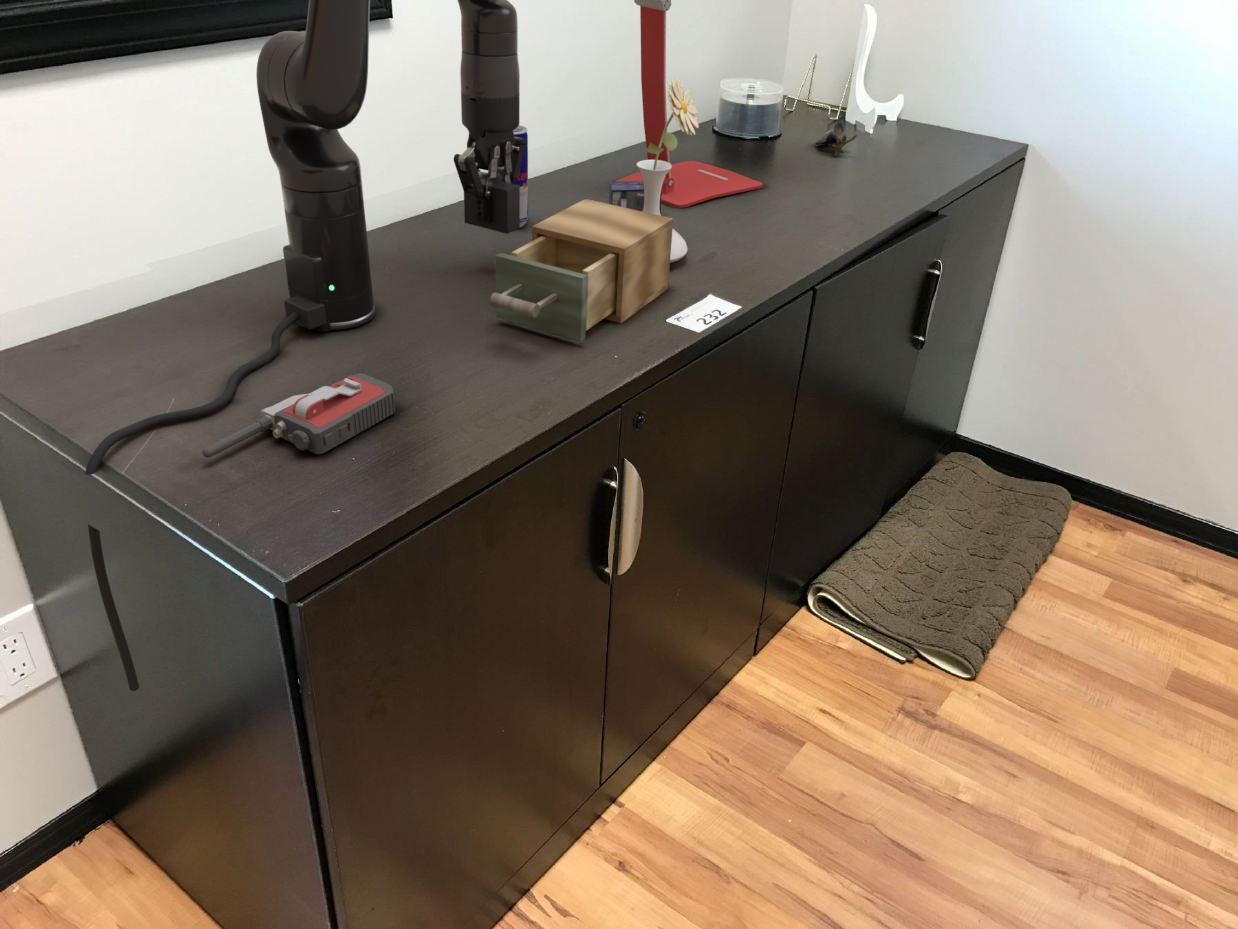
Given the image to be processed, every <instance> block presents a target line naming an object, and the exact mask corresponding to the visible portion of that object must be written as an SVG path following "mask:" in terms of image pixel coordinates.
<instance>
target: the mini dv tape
mask: <svg viewBox="0 0 1238 929" xmlns="http://www.w3.org/2000/svg"><path fill="white" fill-rule="evenodd" d="M644 195H645V193H644V182H643V181H617V180H616V181H615V180H613V181H612V180H611V181H609V196H608V197H609V198H608V204H611V205H615V206H620V207H624V208H629V209H633V210H638V211H642V212H643V208H644ZM661 197H662V188H661V194H660V205H659V209H660V213H662V212H661V210H662V202H661Z"/></svg>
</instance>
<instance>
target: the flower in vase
mask: <svg viewBox="0 0 1238 929" xmlns="http://www.w3.org/2000/svg"><path fill="white" fill-rule="evenodd" d="M667 91H668V100H669V106H670V108H671V111H672V113H671V114H670V116H669V118H668V119H667V124H666V126H665V128H664V131H663V134H662V137H661V140H660V144H659V147H657V146H655V145H654V144H652V143H650V145H649V146H648V148H645V152H646V153H647V152H649V153H653V154H656V158H655V160H648V159H643V160H639V161H637V162H636V167H637V169H638V170H639V172H641V174H642V177H643V182H644V193H645V195H644V208H643V212H646V213H651V214H655V215H660V216H662V214H661V212H660V209H659V205H660V194H661V188H662V184H663V181H664V178H665V176H666V174H667V173H668V171H669V170H670V169H671V168H672V165H671V164H672V163H671V162H670V163H668V162H665V161H661V160H658V156H659V153H661V152H662V151H663V150H664V149H663V148H661V145H662V142H663V143H664V145H665V146H666V148H667V149H668V150H669V152H672V151H675V149H677V147H678V144H679V143H678V139H677V137H676V136H675V135H674V134H673V133H671V132H668V127H669V125H670V123H671V121H672V120H673V118H674V120H675V121H676V124H677V125H678V126H679V128H680V130H681V132H682V133H685V134H686V135H687V136H688V135H690V136H693V135H694V136H695V135H696V131H695V128H696V129H700V128H699V127H700V126H699V123H698V122H699V120H698V118H697V117H696V115H698V109H697V107H696V106H695V105H694V101H693V100H692V99H691V97H692V96H691V95H692V94H691V91H690V89H689V90H688V89H687V90H685V89H684V84H683V82H682V81H681V80H680V78H677V80H675V79H674V78H671V81H670V82H669V87H668V88H667ZM666 130H667V133H666V134H665V132H666ZM687 252H688V245H687V242H686V240H685V239H684V238H683V236H682V235H681V234H680V233H679V232H677V230H675V228H673V229H672V242H671V255H670V264H671V263H675V262H677V261H679V260H680V261H681V259H683V258H684V257H685V255H686V254H687Z"/></svg>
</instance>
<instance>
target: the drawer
mask: <svg viewBox="0 0 1238 929" xmlns="http://www.w3.org/2000/svg"><path fill="white" fill-rule="evenodd" d="M618 261H619V253H616V252H612V251H608V250H603V249H599V248H595V247H591V246H587V245H583V244H579V243H575V242H571V241H567V240H563V239H559V238H555V237H551V236H546V235H543V236H541V237H539V238H537V239H535V240H534V241H532V240H531V241H530V242H528V243H526V244H524V245H522V246H521V247H519V248H517V249H514V250H513V251H512V252H511V254H508V253H504V252H499V253H497V254H496V255H495V289H496V290H495V292H493V293H492V294H491V295H490V299H489V303H490V306H492V307H496V318H498V319H501V320H504V321H507V322H511V323H515V324H518V325H522V326H525V327H529V328H532V329H535V330H539V331H542V332H546V333H549V334H552V335H556V336H559V337H563V338H566V339H569V340H574V341H577V342H582V341H584V340H585V339H586V338H587V337H586V335H587V331H588V330H589V329H591V328H592V327H594V326H596V325H597V324H598V323H600V322H601V321H602V320H605V319H604V318H605V317H607V316H608V315H609V314H611V313H612V312H614V311H615V310H616V304H617V283H618Z"/></svg>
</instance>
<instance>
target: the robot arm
mask: <svg viewBox="0 0 1238 929" xmlns="http://www.w3.org/2000/svg"><path fill="white" fill-rule="evenodd" d="M457 3H458V7H459V11H460V16H461V17H460V19H461V20H460V27H461V28H460V29H461V30H460V32H461V33H460V34H461V57H460V58H461V59H460V70H459V73H460V107H461V108H460V109H461V124H462V126H463V127H464V128H466V129H467V131H468V137H467V140H466V141H467V142H466V149H465V150H464V151H463V153H461V154H459V153H455V154H454V156H453V163H454V166H455V168H456V172H457V176H458V178H459V181H460V184H461V187H462V190H463V194H464V193H467V194H472V195H474V196H475V211H476V212H475V216H476V220H477V221H478V222H479V223H483V224H487V225H488V224H490V223H492V197H491V194H492V183H493V180H499V181H504V182H508V183H512V182H517V180H518V177H519V172H520V168H521V163H522V159H523V155H524V150H525V146H526V139H524V138H519V137H515V136H514V133H513V130H514V129H516V128H517V127H518V126H519V125H520V86H521V85H520V84H521V83H520V80H521V79H520V76H521V75H520V64H519V54H518V50H519V48H518V47H519V46H518V40H519V38H518V31H519V30H518V29H519V27H518V24H519V22H518V13H517V8H515V6H514V5H513V4H512V3H511V2H510V1H509V0H457ZM370 12H371V0H308V9H307V18H306V19H307V20H306V27H305V32H303V31H302V32H301V31H297V30H284V31H280V32H278V33H276V34H273V35H272V36H270V37H269V38H267V40H266V41H265V42H264V44H263V46H262V48H261V49H260V52H259V53H258V54H259V55H258V58H257V63H256V72H255V74H256V75H255V76H256V87H257V96H258V100H259V101H258V102H259V107H260V112H261V117H262V122H263V128H264V133H265V138H266V144H267V148H268V151H269V154H270V156H271V159H272V161H273V162H274V164H275V166H276V168H277V170H278V174H279V181H280V187H281V195H282V201H283V208H284V210H283V211H284V216H285V222H286V223H285V224H286V230H287V231H286V232H287V237H288V244H287V245H284V246H283V247H282V254H283V260H284V266H285V274H286V281H287V288H288V295H289V298H286V299H284V300H283V302H284V309H285V317H286V318H284V319H283V320H282V321H281V322H279V324H278V325H276V327H275V329H274V330H273V333H272V335H271V338H270V339H271V341H270V343H271V344H270V347H269V349H268V350H267V351H266V352H265V353H264V354H262V355H261V356H259V357H257V358H256V359H254V360H251V361H249V362H247V363H245V364H243V365H241V366H240V367H238V368H237V369H236V370H234V372H233V373H232V374H231V376H230V377H229V379H228V380H227V383H226V385H225V388H224V392H223V393H222V394H221V395H220V396H219V397H217V398H216V399H214V400H213V401H211V402H209V403H205V404H204V405H201V406H197V407H193V408H188V409H182V410H176V411H170V412H165V413H161V414H156V415H152V416H150V417H147V418H144V419H142V420H139V421H137V422H135V423H132V424H129V425H127V426H125V427H122V428H120V429H117V430H116V431H114V432H112V433H110V434H109V435H106V437H105V438H104V439H103V440H102V441H101V442H100V443H99V444H98V445H97V446H96V448H95V449H94V451H93V452H92V455H91V456H90V458H89V461H88V463H87V465H86V468H85V472H84V474H85V475H86V476H89V475H90V476H91V475H93V474H96V473H97V472H98V470H99V468H100V465H101V463H102V461H103V459H104V457H105V455H106V454H107V452H108V451H109V450H110V449H111V447H113V446H114V445H115V444H117V443H119V442H120V441H123V440H124V439H127V438H129V437H131V436H134V435H137V434H139V433H140V432H143V431H145V430H147V429H150V428H153V427H155V426H159V425H163V424H167V423H172V422H179V421H185V420H190V419H195V418H199V417H203V416H206V415H209V414H211V413H214V412H216V411H219V410H220V409H221V408H223V407H225V405H227V404H228V403H229V402H230V400H231V399H232V398H233V396H234V394H235V391H236V389H237V385H238V384H239V381H240V380H241V379H242V378H243V377H244V376H245V375H247V374H249V373H250V372H252V371H255V370H257V369H259V368H261V367H263V366H265V365H267V364H268V363H270V362H271V361H272V360H273V359H274V358H275V357H276V356H277V354H278V353H279V350H280V348H281V337H282V335H283V333H284V332H286V330H287V329H288V328H289V327H291V326H292V325H293V324H297V325H299V326H301V327H303V328H305V329H307V330H313V329H314V330H316V331H318V332H320V333H326V332H330V331H338V330H347V329H352V328H356V327H360V326H363V325H365V324H366V323H368V322H370V321H371V320H373V318H374V317H375V316H376V306H375V305H376V304H375V302H374V293H373V283H372V282H373V281H372V273H371V261H370V251H369V242H368V233H367V231H368V230H367V222H366V210H365V199H364V190H363V180H362V177H363V176H362V169H361V162H360V158H359V156H358V155H357V153H356V152H355V150H353V149H352V148H351V146H349V144H347V142H346V140H344V138H343V137H342V135H341V133H340V131H339V130H340V129H343V128H345V127H347V126H348V125H350V124H352V122H353V121H354V120H355V119H356V118H357V117H358V115H359V113H360V111H361V109H362V107H363V105H364V101H365V99H366V94H367V88H368V79H369V78H368V77H369V51H370V50H369V49H370V48H369V46H370V45H369V44H370ZM513 153H514V154H513ZM512 163H513V169H512ZM481 170H484V171H481ZM511 171H512V172H511ZM498 174H499V176H498ZM481 179H484V181H485V183H484V187H483V186H482V183H481ZM470 182H471V183H472V185H471V183H470ZM87 528H88V529H87V530H88V537H89V545H90V551H91V556H92V562H93V567H94V572H95V577H96V581H97V585H98V589H99V593H100V596H101V599H102V603H103V607H104V609H105V613H106V616H107V620H108V624H109V626H110V629H111V631H112V636H113V638H114V640H115V643H116V647H117V650H118V653H119V657H120V660H121V663H122V666H123V670H124V673H125V676H126V680H127V683H128V687H129V690H130V691H131V692H136V691H138V690H139V689H140V683H139V680H138V676H137V672H136V667H135V666H134V661H133V658H132V654H131V651H130V649H129V648H130V647H129V644H128V642H127V638H126V635H125V632H124V629H123V626H122V623H121V620H120V617H119V612H118V610H117V607H116V604H115V601H114V597H113V593H112V589H111V585H110V582H109V577H108V573H107V569H106V564H105V559H104V554H103V547H102V546H103V545H102V541H101V532H100V530H99V529H97V528H96V527H93V525H90V524H89V523H87Z"/></svg>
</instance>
